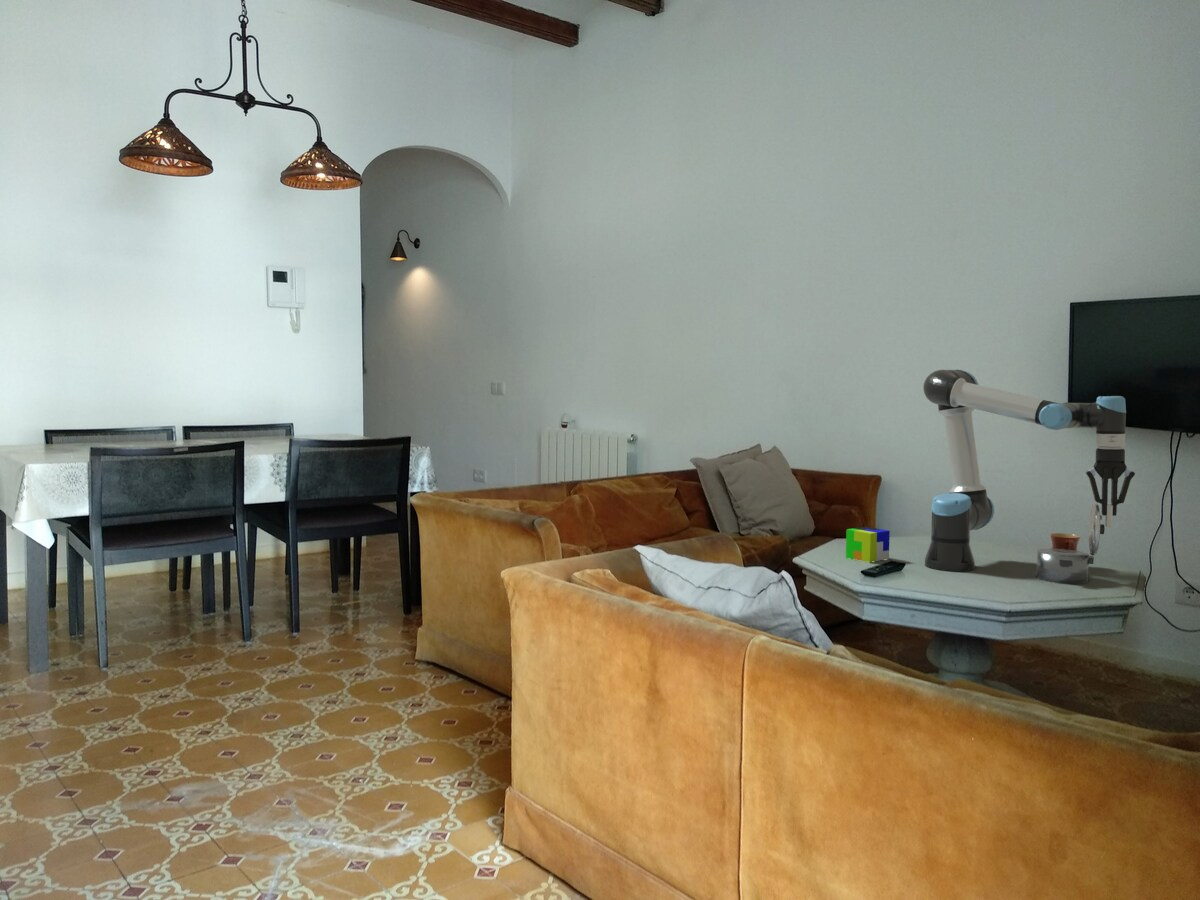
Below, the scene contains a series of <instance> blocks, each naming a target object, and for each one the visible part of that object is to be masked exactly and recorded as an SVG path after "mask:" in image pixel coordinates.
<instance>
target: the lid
mask: <svg viewBox="0 0 1200 900" xmlns="http://www.w3.org/2000/svg"><path fill="white" fill-rule="evenodd" d="M1102 519H1103V515H1102V514H1101V512H1100V507H1099V503H1092V504H1091V507H1090V509H1089V517H1088V533H1087V534H1088V536H1087V537H1088V548H1089V549H1088V550H1089V555H1090V556H1095V555H1096V554H1097V552H1098V549H1099V544H1100V538H1101V537H1100V536H1101V535H1105V527H1106V526H1105V524H1104V523H1103V524H1102V523H1101V521H1102Z"/></svg>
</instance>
